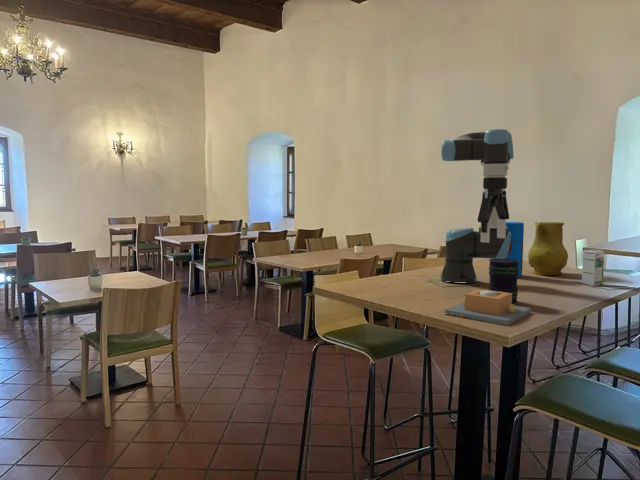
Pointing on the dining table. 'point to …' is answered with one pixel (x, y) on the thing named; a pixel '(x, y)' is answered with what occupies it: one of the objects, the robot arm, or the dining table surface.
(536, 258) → the yellow rounded vessel
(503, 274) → the storage jar
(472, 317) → the post board
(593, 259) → the syrup box
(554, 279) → the dining table surface
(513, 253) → the thermos
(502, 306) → the square frame
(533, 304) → the dining table surface
